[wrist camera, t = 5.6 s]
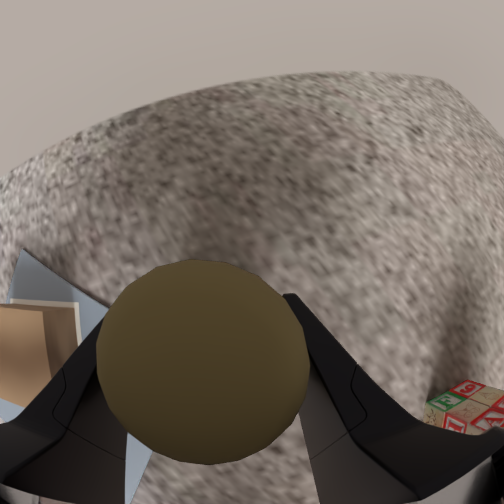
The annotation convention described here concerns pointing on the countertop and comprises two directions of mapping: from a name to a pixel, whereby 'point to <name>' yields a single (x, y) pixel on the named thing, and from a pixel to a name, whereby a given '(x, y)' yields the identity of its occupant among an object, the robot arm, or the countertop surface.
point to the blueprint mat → (86, 318)
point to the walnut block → (33, 348)
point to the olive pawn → (202, 362)
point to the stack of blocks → (467, 408)
